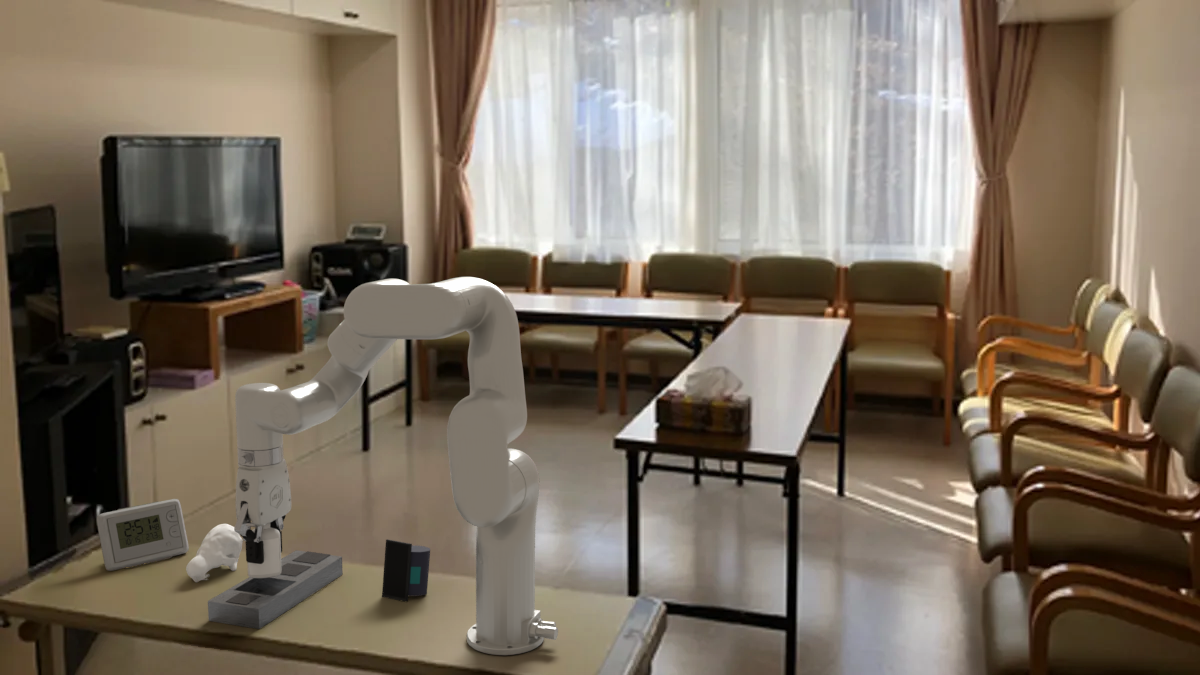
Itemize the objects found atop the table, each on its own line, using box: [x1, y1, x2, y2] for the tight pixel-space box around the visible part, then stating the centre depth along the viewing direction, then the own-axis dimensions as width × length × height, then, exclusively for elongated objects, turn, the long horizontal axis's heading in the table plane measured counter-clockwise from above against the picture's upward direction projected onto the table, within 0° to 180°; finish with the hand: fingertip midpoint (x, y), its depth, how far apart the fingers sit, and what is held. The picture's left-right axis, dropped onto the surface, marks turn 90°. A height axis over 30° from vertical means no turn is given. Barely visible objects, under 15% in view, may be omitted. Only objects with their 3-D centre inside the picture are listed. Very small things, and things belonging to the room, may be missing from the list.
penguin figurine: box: [185, 523, 244, 583], centre depth 203 cm, size 6×8×12 cm
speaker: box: [381, 539, 431, 602], centre depth 194 cm, size 8×6×10 cm
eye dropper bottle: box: [246, 523, 282, 578], centre depth 188 cm, size 4×6×12 cm
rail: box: [207, 549, 343, 630], centre depth 193 cm, size 10×26×4 cm, turn 162°
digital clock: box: [96, 498, 190, 572], centre depth 210 cm, size 16×9×11 cm, turn 122°
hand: (264, 556), depth 188 cm, fingers closed on eye dropper bottle, 4 cm apart
